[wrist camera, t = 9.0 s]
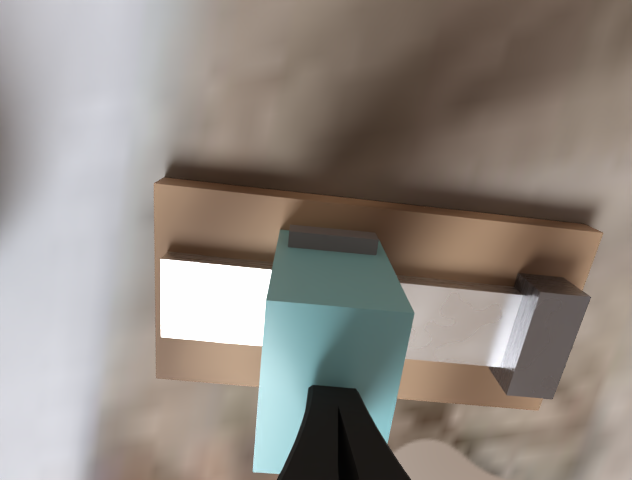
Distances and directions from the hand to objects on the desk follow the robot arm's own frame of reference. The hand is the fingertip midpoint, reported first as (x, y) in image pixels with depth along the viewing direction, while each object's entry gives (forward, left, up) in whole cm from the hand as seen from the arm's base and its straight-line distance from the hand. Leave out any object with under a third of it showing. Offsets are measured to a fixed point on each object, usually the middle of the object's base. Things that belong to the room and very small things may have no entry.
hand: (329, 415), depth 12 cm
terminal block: (0, 0, -6) cm, 6 cm away
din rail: (-2, 0, -6) cm, 7 cm away
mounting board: (-2, 0, -8) cm, 8 cm away
